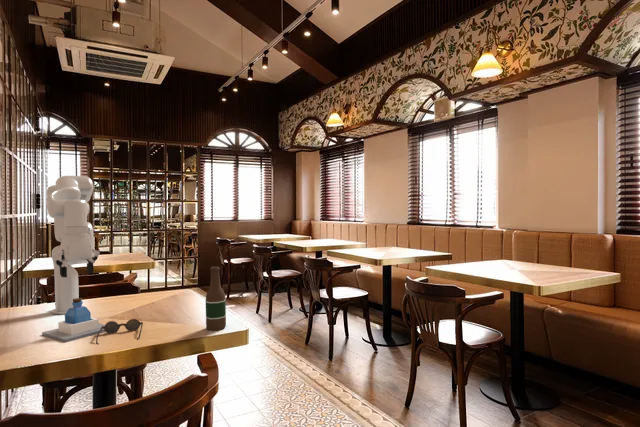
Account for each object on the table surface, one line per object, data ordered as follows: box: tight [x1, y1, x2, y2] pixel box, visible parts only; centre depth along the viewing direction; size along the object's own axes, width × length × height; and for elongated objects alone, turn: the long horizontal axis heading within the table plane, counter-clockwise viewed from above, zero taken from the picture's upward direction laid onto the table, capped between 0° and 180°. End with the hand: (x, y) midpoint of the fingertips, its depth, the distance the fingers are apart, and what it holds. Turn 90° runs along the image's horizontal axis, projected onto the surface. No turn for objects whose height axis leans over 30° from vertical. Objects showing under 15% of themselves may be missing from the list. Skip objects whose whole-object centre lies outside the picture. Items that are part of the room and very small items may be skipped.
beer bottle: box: [205, 266, 227, 332], centre depth 158 cm, size 8×8×24 cm
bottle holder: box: [41, 317, 107, 343], centre depth 157 cm, size 18×18×4 cm
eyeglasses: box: [95, 318, 144, 345], centre depth 150 cm, size 15×15×5 cm
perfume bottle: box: [64, 297, 92, 324], centre depth 157 cm, size 6×6×12 cm
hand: (77, 275), depth 157 cm, fingers open, 9 cm apart
